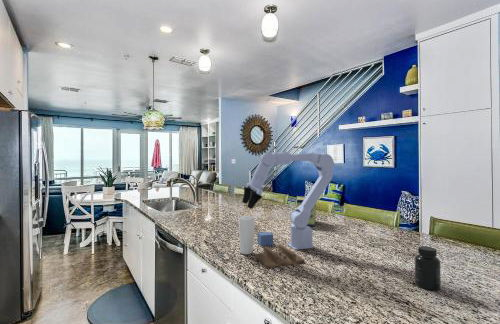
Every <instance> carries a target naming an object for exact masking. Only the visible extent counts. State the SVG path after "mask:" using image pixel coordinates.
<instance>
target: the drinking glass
mask: <svg viewBox="0 0 500 324" xmlns="http://www.w3.org/2000/svg"><path fill="white" fill-rule="evenodd" d="M255 219H256V218H255V217H254V216H252V215H241V216H239V217H238V235H239V251H240V254H242V255H251V254H252V253H253V251H254V238H255V229H256V227H255V226H256V225H255V223H256V222H255V221H256V220H255Z"/></svg>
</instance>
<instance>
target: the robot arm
mask: <svg viewBox="0 0 500 324" xmlns="http://www.w3.org/2000/svg"><path fill="white" fill-rule="evenodd" d="M292 162H309V163H311V164H313V166H315V168H316V169H317V172H318V177H317V179H316V181H315V183H314V184H313V185H312V187H311V189H310V190H309V191H308V193H307V195H306V196H305V197H306V198H305V199H304V201H303V202H302V204H301V205H300V206H298V207H297V206H296V209H295V210H292V212H291V213H290V214H289V219H290V221H291V224H290V242H289V243H288V242H287V243H286V245H287V246H288V247H290V248H292V249H293V250H295V251H298V250H304V249H305V250H306V249H312V248H314V245H313V244H314V243H313V229H312V227H309V226H307V224H308V219H309V217H310V215H311V210H312V208H313V207H314V205H315V204H316V205H317V202H318V201H319V200H320V197H322V195H323V193H324V192H325V191H326V189H327V187H328V185H329V184H330V183H331V181H332V179H333V173H334V166H335V162H334V159H333V157H332V155H330V154H328V153H324V154H322V153H317V152H316V153H315V152H308V153H307V152H306V153H295V154H291V153H290V151H286V150H282V151H279V152H278V151H277V152H276V151H270V152H265V153H263V154H262V155H261V156H260V161H259V163H258V165H257V166H256V168H255V171H254V173H253V176H252V178H251V179H250V182H248V183H247V182H246V186H243V197H242V200H241V201H242V203H243V204H245V205H247V206H246V207H247V208H249V209H253V208H254V206H255V205H256V204H257V203H258V202H259V201H260V200H261V199H262V198H263V196H264V195H263V196H262V194H263V192H264V191H263V189H262V188H263V186H264V184H265V182H266V179H267V177H268V175H269V173H270V170H271V167H272V166H273V165H274V166H281V165H282V166H283V165H289V164H291V163H292Z"/></svg>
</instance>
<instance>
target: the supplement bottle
mask: <svg viewBox="0 0 500 324" xmlns="http://www.w3.org/2000/svg"><path fill="white" fill-rule="evenodd" d="M417 248H418V250H417V251H418V252H417V253H418V254H416V255H415V257H414V283H415V285H416V287H418V288H421V289H424V290H428V291H439V290H440V289H441V276H442V275H441V274H442V273H441V265H442V264H441V260H440V259H439V258H438V257H437V255H438V253H437V248H435V247H432V246H427V245H420V246H418V247H417Z"/></svg>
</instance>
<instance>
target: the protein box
mask: <svg viewBox="0 0 500 324" xmlns="http://www.w3.org/2000/svg"><path fill="white" fill-rule="evenodd" d="M305 198H306V196H301V195H300V196H299V197H298V198H297V199H296V208H297V207H298V206H300V205H301V204H302V202H303V201H304V199H305ZM316 205H317V203H316V204H315V205H314V207H313V208H312V210H311V215H310V217H309V219H308V224H307V226H309V227H310V228H315V226H316V223H317V219H316V215H317V206H316Z"/></svg>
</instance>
